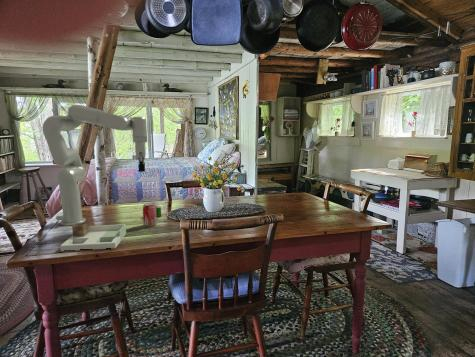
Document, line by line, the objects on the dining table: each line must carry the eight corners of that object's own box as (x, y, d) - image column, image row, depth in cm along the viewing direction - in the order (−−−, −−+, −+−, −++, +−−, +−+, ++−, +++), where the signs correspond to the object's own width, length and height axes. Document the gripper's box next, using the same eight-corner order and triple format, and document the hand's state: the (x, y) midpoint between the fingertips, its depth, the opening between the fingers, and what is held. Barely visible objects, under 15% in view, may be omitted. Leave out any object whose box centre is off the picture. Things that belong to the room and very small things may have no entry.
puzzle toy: (158, 214, 188) (158, 205, 187) (161, 216, 183) (160, 207, 182) (149, 216, 185) (148, 206, 184) (151, 218, 180) (150, 208, 179)
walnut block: (73, 236, 143) (72, 226, 142) (77, 233, 148) (76, 223, 147) (84, 236, 144) (83, 226, 143) (88, 232, 149) (87, 222, 148)
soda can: (145, 223, 170) (143, 202, 168) (158, 222, 171) (156, 202, 169) (142, 227, 163) (140, 205, 161) (155, 226, 164) (154, 205, 162)
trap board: (60, 251, 133) (59, 240, 132) (78, 236, 151) (77, 226, 150) (115, 248, 135) (114, 237, 134) (126, 233, 154) (125, 224, 153)
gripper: (133, 139, 175) (135, 168, 177) (132, 140, 158) (134, 172, 161) (147, 139, 177) (148, 168, 179) (147, 140, 160) (149, 172, 163)
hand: (142, 170), depth 170 cm, fingers open, 9 cm apart
